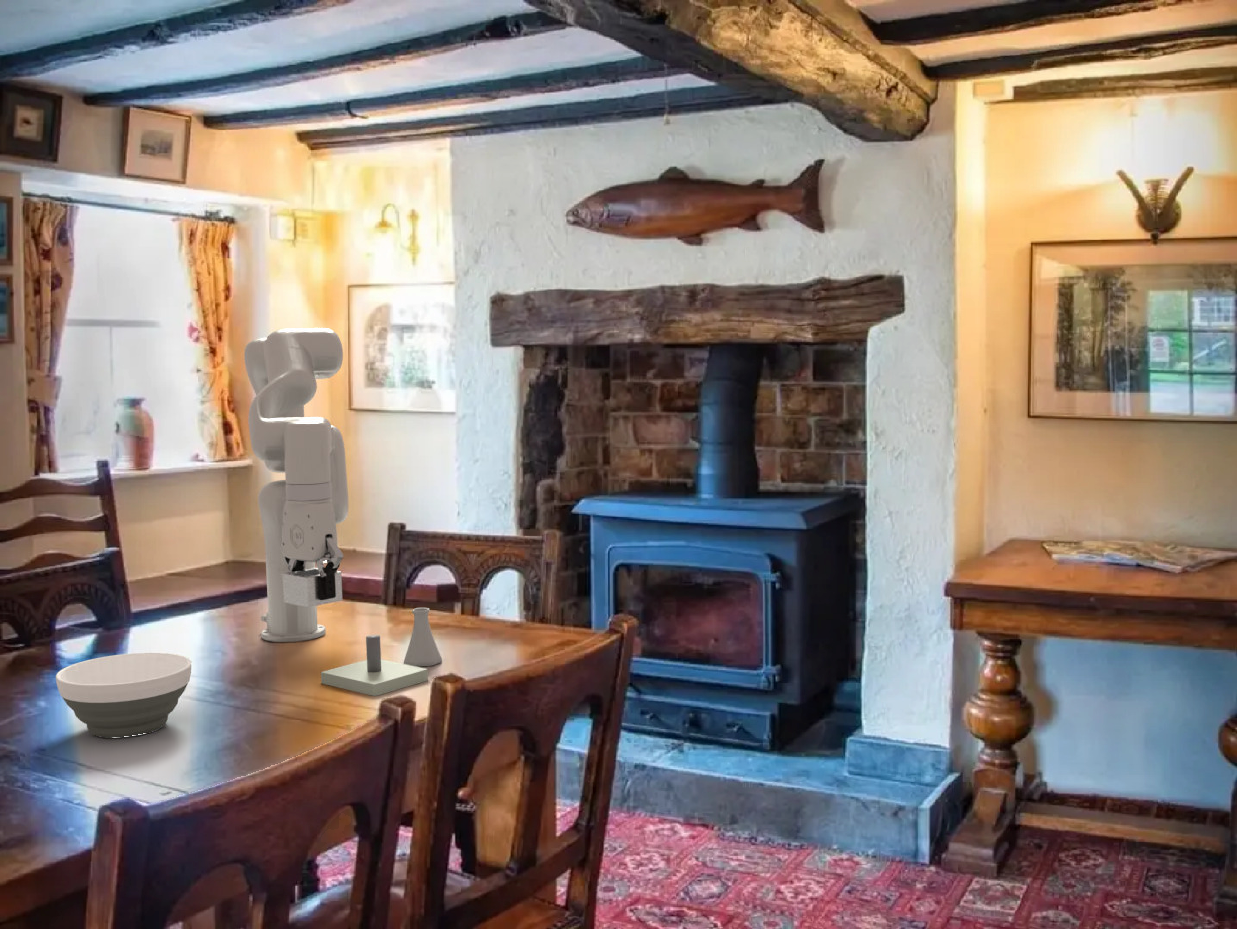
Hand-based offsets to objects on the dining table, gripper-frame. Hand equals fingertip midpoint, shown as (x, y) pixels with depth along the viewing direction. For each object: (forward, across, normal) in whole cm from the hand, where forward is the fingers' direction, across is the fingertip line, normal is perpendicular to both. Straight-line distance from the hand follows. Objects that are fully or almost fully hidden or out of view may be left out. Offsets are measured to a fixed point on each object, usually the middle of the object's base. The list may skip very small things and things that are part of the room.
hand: (313, 595), depth 219 cm
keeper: (+16, +6, +7) cm, 19 cm away
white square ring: (+1, 0, 0) cm, 1 cm away
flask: (+16, +3, +21) cm, 27 cm away
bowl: (+16, -3, -33) cm, 37 cm away
